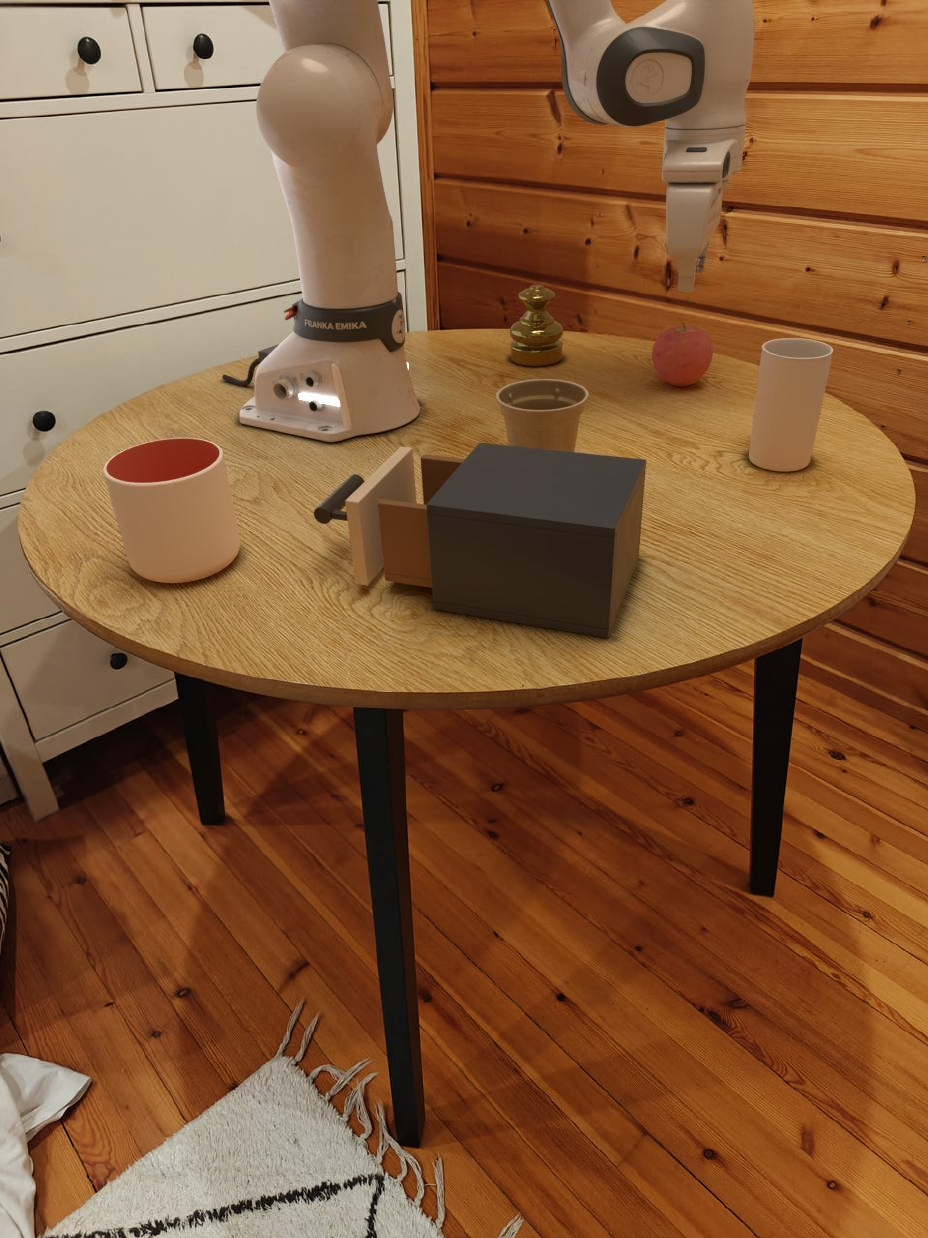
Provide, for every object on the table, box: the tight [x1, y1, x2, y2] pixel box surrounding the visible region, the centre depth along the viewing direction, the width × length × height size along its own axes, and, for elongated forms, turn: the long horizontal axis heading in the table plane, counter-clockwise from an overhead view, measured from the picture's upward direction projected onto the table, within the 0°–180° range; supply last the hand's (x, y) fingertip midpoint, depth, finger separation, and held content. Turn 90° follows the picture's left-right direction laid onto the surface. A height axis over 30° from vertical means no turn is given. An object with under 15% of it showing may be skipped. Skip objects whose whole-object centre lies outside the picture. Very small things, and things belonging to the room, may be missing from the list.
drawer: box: [313, 446, 466, 589], centre depth 77 cm, size 18×11×8 cm, turn 70°
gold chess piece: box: [509, 284, 564, 367], centre depth 125 cm, size 7×7×10 cm
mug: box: [748, 337, 834, 473], centre depth 94 cm, size 10×7×12 cm, turn 3°
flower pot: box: [495, 378, 590, 452], centre depth 93 cm, size 9×9×9 cm
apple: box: [651, 321, 714, 387], centre depth 115 cm, size 7×7×8 cm
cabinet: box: [426, 442, 647, 639], centre depth 74 cm, size 15×13×10 cm
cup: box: [102, 437, 241, 584], centre depth 80 cm, size 10×10×10 cm
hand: (691, 281), depth 110 cm, fingers open, 8 cm apart
